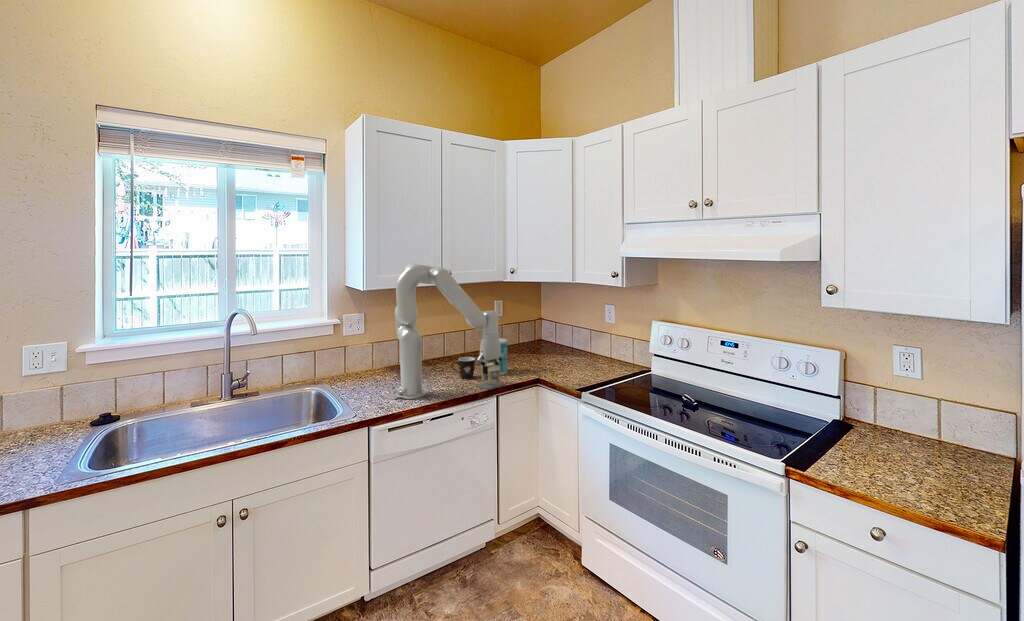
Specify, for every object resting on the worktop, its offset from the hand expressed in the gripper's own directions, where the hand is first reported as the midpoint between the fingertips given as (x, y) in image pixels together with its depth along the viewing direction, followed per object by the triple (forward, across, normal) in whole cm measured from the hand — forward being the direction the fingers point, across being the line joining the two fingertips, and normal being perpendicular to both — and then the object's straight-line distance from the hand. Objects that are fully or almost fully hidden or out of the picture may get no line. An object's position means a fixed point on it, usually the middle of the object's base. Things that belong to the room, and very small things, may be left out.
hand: (490, 372), depth 219 cm
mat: (+7, 0, 0) cm, 7 cm away
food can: (+7, -16, -16) cm, 24 cm away
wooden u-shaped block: (+5, 0, 0) cm, 5 cm away
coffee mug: (+7, +2, -20) cm, 21 cm away
